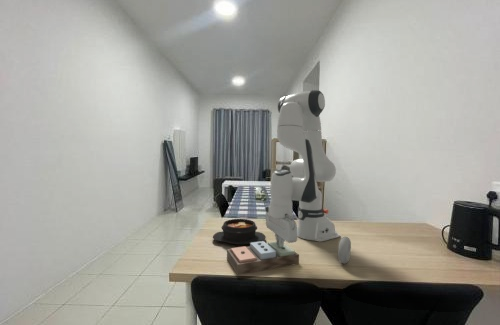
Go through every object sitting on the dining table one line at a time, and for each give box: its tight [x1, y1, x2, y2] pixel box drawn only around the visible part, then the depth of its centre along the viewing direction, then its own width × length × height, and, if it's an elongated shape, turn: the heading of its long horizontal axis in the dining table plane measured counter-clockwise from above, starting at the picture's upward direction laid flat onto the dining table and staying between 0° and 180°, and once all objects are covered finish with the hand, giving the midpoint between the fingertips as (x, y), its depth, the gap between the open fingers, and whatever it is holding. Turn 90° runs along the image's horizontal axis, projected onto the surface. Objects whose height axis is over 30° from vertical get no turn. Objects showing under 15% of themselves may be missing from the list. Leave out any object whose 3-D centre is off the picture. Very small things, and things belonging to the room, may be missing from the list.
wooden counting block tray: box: [226, 245, 300, 275], centre depth 93 cm, size 24×13×4 cm, turn 111°
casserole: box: [212, 218, 266, 245], centre depth 114 cm, size 25×19×8 cm
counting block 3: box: [267, 240, 296, 257], centre depth 96 cm, size 6×11×4 cm, turn 21°
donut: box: [337, 236, 352, 265], centre depth 93 cm, size 10×4×10 cm, turn 148°
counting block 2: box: [249, 240, 276, 260], centre depth 93 cm, size 6×11×4 cm, turn 21°
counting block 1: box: [230, 246, 256, 263], centre depth 90 cm, size 6×11×4 cm, turn 21°
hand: (279, 245), depth 96 cm, fingers closed
